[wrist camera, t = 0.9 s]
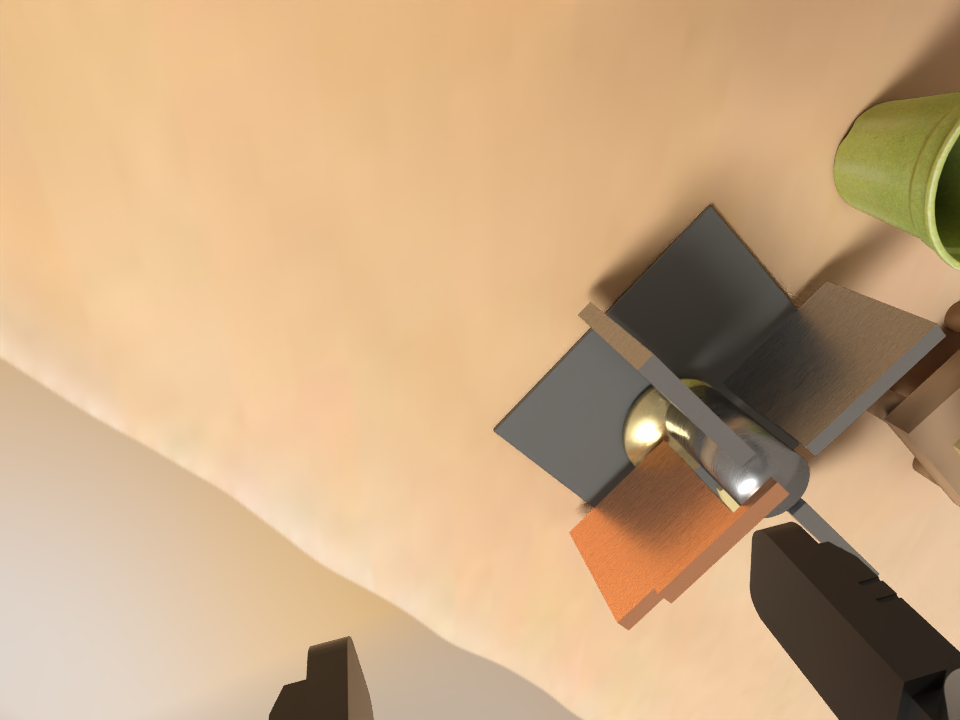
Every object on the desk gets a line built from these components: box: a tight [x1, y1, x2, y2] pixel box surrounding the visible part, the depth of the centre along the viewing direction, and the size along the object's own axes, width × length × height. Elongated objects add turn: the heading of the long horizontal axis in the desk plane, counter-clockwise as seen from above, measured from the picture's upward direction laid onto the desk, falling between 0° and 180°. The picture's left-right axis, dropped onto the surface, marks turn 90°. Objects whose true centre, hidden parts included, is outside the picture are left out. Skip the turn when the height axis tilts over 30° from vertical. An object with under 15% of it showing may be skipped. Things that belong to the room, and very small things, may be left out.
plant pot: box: [834, 92, 960, 271], centre depth 34 cm, size 9×9×9 cm
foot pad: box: [493, 206, 799, 512], centre depth 41 cm, size 18×19×1 cm
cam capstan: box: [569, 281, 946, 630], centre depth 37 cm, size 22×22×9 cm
